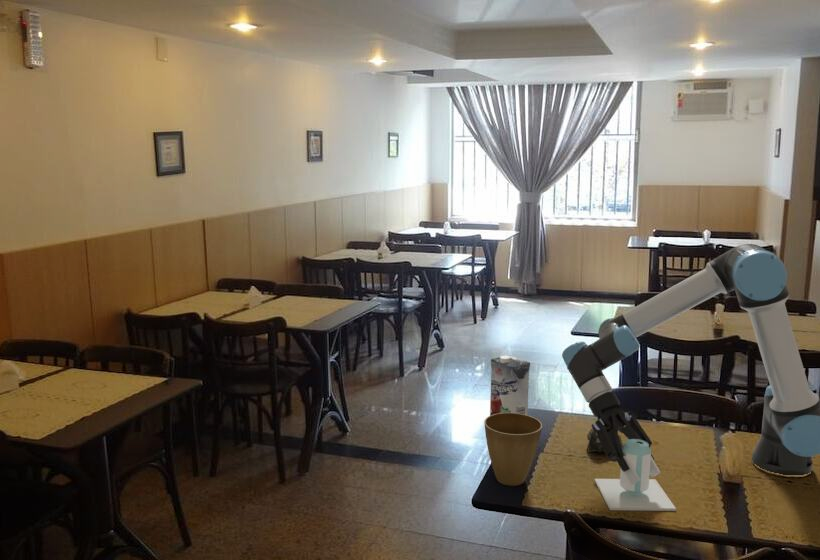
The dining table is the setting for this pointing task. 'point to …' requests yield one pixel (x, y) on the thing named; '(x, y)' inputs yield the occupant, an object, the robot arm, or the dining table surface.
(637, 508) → the white mat
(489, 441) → the plant pot
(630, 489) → the can
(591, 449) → the fossil
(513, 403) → the juice carton
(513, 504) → the dining table surface
